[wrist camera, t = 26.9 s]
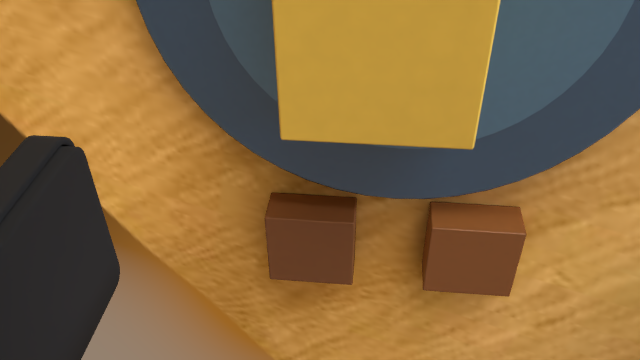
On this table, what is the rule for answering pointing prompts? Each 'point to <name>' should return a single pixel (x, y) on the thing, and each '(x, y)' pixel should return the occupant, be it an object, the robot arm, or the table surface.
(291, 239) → the block
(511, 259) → the block
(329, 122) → the scrub sponge
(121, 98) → the table surface
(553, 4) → the side plate
